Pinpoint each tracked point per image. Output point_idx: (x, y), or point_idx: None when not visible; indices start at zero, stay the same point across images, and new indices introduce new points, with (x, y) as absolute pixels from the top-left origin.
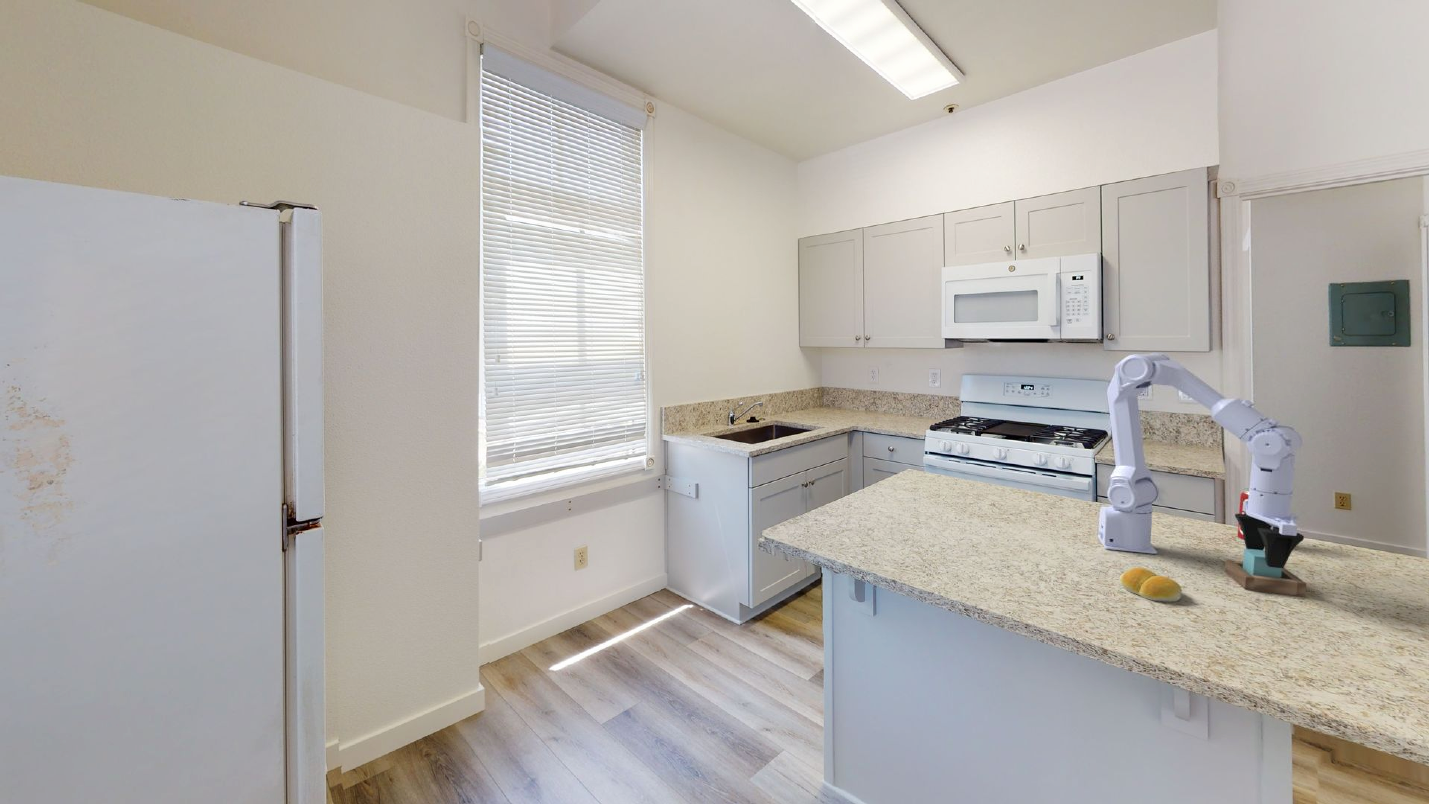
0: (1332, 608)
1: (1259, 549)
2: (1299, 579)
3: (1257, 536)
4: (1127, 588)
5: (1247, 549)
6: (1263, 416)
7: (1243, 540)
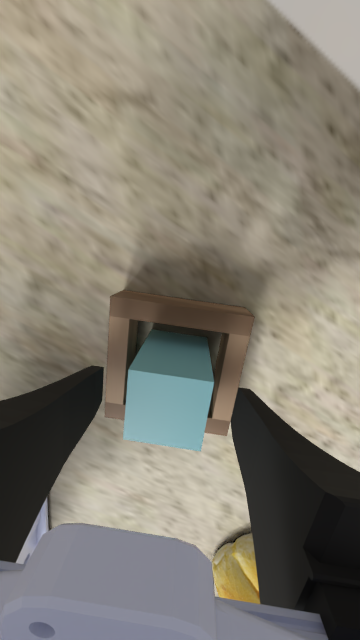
0: (310, 289)
1: (97, 379)
2: (225, 316)
3: (66, 422)
4: None
5: (130, 434)
6: None
7: None
